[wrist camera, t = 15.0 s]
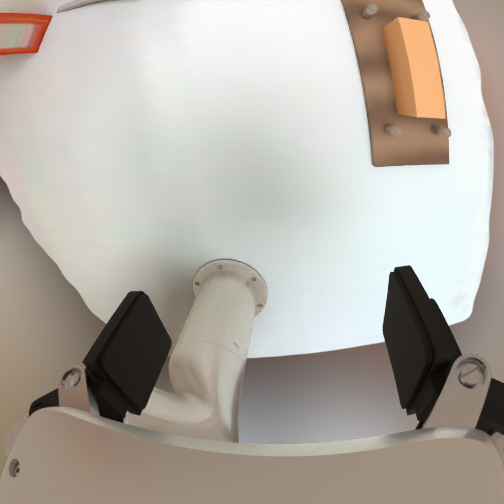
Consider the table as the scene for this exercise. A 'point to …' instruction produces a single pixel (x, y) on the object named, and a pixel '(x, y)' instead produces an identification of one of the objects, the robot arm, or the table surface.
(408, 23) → the jaw block
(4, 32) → the file binder
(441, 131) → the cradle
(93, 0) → the caliper
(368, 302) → the table surface
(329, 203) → the table surface
